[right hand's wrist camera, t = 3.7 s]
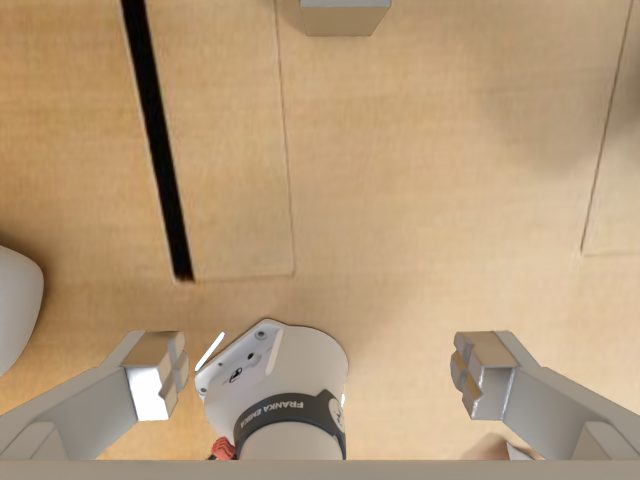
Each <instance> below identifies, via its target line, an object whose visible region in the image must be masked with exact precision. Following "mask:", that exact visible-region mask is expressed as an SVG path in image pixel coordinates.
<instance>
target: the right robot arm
mask: <svg viewBox="0 0 640 480" xmlns="http://www.w3.org/2000/svg"><path fill="white" fill-rule="evenodd" d="M259 332H263V333H264V334H261V333H259ZM223 336H224V333H223V332H222V333H221V335H220V336H219V337H218V338H217V340H216V341H215V342H214V344H213V345H212V346H211V347H210V349H209V350H208V351H207V353H206V354H205V355H204V357H203V358H202V359H201V360H200V362H199V363H198V364H197V366H196V369H195V370H198V369H199V368H200V367H201V365H202V364H203V363H204V361H205V360H206V359H207V358H208V356H209V355H210V354H211V352H212V351H213V350H214V349H215V347H216V346H217V345H218V343H219V342H220V341H221V340H222V338H223ZM185 345H186V339H185V334H184V333H183V332H182V331H130V332H128V333H127V334H126V335H125V337H124V338H123V339H122V340H121V341H120V342H119V344H118V345H117V346H116V347H115V348H114V350H113V351H112V352H111V353H110V354H109V355H108V357H107V358H106V359H105V360H104V361H103V363H102V364H101V365H100V366H99V367H92V368H91V369H89V370H87V371H85V372H83V373H81V374H79V375H77V376H75V377H73V378H71V379H70V380H68V381H66V382H64V383H62V384H60V385H58V386H56V387H54V388H52V389H50V390H49V391H47V392H45V393H43V394H41V395H39V396H37V397H35V398H33V399H31V400H29V401H28V402H26V403H24V404H22V405H20V406H18V407H16V408H14V409H12V410H10V411H8V412H7V413H5V414H3V415H1V416H0V480H640V416H639V415H637V414H635V413H633V412H631V411H629V410H627V409H626V408H624V407H622V406H620V405H618V404H616V403H614V402H612V401H610V400H608V399H607V398H605V397H603V396H601V395H599V394H597V393H595V392H593V391H591V390H589V389H588V388H586V387H584V386H582V385H580V384H578V383H576V382H574V381H572V380H570V379H568V378H567V377H565V376H563V375H561V374H559V373H557V372H555V371H553V370H551V369H549V368H548V367H541V366H540V365H539V364H538V363H537V361H536V360H535V359H534V358H533V357H532V355H531V354H530V353H529V352H528V351H527V350H526V348H525V347H524V346H523V345H522V344H521V343H520V341H519V340H518V339H517V338H516V337H515V335H514V334H513V333H512V332H510V331H508V330H504V331H478V332H457V333H456V335H455V338H454V345H455V347H456V349H457V351H456V352H455V353H454V354H453V355H452V356H451V363H450V367H451V376H452V379H453V382H454V385H455V387H456V388H457V389H458V390H459V391H461V392H462V393H463V398H462V401H463V403H464V406H465V408H466V410H467V412H468V414H469V416H470V418H471V420H499V421H503V423H504V424H505V425H507V426H508V427H509V428H510V429H511V430H512V431H513V432H515V433H516V434H517V435H518V436H519V437H520V438H522V439H523V440H524V441H525V442H526V443H527V444H528V445H530V446H531V447H532V448H533V449H534V450H535V451H537V452H538V453H539V454H540V455H541V456H542V457H544V458H545V459H546V460H346V438H345V421H344V415H343V410H342V405H343V402H344V395H343V389H344V384H345V381H346V378H347V374H348V361H347V357H346V354H345V352H344V350H343V349H342V347H341V346H340V345H339V344H338V343H337V342H336V341H335V340H334V339H333V338H332V337H330V336H329V335H327V334H325V333H323V332H321V331H319V330H316V329H313V328H308V327H300V326H288V325H285V324H282V323H280V322H278V321H275V320H272V319H264V320H262V321H260V322H259V323H258V324H257V325H255V326H254V327H253V328H251V329H250V330H249V331H248V332H246V333H245V334H244V335H242V336H241V337H240V338H239V339H237V340H236V341H235V342H234V343H232V344H231V345H230V346H228V347H227V348H226V349H225V350H223V351H222V352H221V353H219V354H218V355H217V356H216V357H214V358H213V359H212V360H210V361H209V362H208V363H207V364H205V365H204V366H203V367H202V368H200V369H199V370H198V371H197V372H196V374H195V377H194V381H195V387H196V390H197V392H198V395H199V396H200V398H201V400H202V401H203V403H204V413H205V416H206V419H207V421H208V423H209V424H210V426H211V428H212V429H213V430H214V432H215V433H216V434H217V435H218V436H219V437H220V438H219V439H218V440H216V442H215V443H214V444H213V447H212V450H211V452H212V454H213V455H212V456H211V458H210V459H209V460H94V459H95V458H97V457H98V456H99V455H100V454H101V453H102V452H104V451H105V450H106V449H107V448H108V447H109V446H110V445H112V444H113V443H114V442H115V441H116V440H117V439H119V438H120V437H121V436H122V435H123V434H124V433H126V432H127V431H128V430H129V429H130V428H131V427H133V426H134V425H135V424H136V423H137V421H141V420H169V418H170V416H171V414H172V412H173V410H174V408H175V406H176V403H177V401H178V398H177V393H178V392H179V391H181V390H182V389H183V388H184V387H185V384H186V382H187V380H188V375H189V367H190V362H189V356H188V355H187V354H186V353H185V352H184V351H183V349H184V347H185ZM204 388H205V389H204ZM217 457H218V458H219V460H215V459H216V458H217Z"/></svg>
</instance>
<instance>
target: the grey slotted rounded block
mask: <svg viewBox="0 0 640 480" xmlns="http://www.w3.org/2000/svg"><path fill="white" fill-rule="evenodd" d="M43 287H44V279H43V274H42V271H41V269H40V267H39V266H38V265H37V264H36V263H35V262H34V261H32V260H31V259H29V258H28V257H26V256H24V255H22V254H20V253H18V252H16V251H13V250H11V249H9V248H6V247H3V246H1V245H0V377H1V376H2V375H4V374H5V373H6V372H7V371H8V370H9V369H10V368H11V367H12V365H13V364H14V363H15V362H16V360H17V359H18V358H19V356H20V355H21V353H22V352H23V350H24V348H25V346H26V345H27V343H28V341H29V339H30V337H31V334H32V332H33V329H34V326H35V323H36V320H37V317H38V314H39V310H40V306H41V301H42V296H43Z"/></svg>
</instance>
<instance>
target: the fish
mask: <svg viewBox="0 0 640 480" xmlns="http://www.w3.org/2000/svg"><path fill="white" fill-rule="evenodd" d="M506 443H507V448H508V453H509V457H510V460H535V459H534V458H532V457H530V456H528V455H527V454H525V453H523V452H521V451H520V450H518V449H516V448H514V447H513V446H512V445H511V444H510V443H508V442H506Z"/></svg>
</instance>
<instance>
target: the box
mask: <svg viewBox="0 0 640 480" xmlns="http://www.w3.org/2000/svg"><path fill="white" fill-rule="evenodd" d="M390 7H391V0H300V9H301V13H302V18H303V22H304V27H305V31H306V36H371V34H372V33H373V32H374V30H375V29H376V27H377V26H378V24H379V23H380V21H381V20H382V18H383V17H384V16H385V14H386V13H387V11H388V10H389V8H390Z"/></svg>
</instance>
